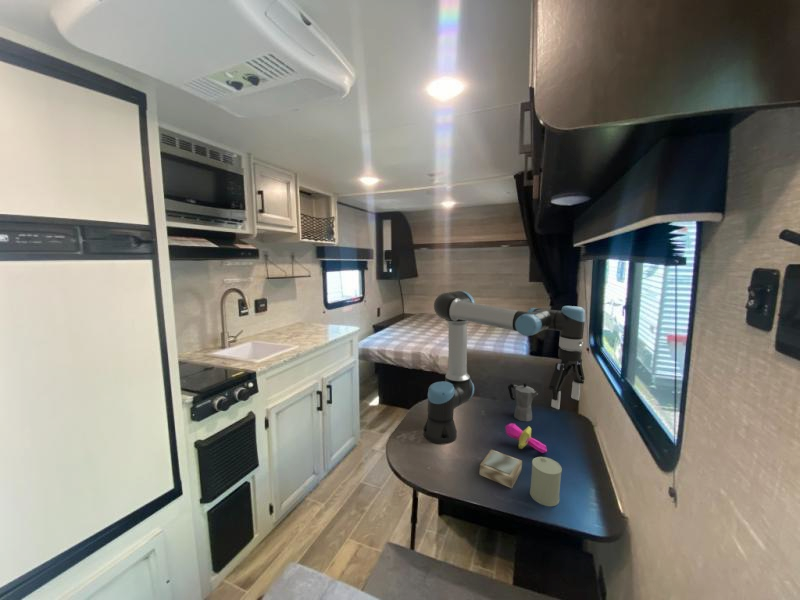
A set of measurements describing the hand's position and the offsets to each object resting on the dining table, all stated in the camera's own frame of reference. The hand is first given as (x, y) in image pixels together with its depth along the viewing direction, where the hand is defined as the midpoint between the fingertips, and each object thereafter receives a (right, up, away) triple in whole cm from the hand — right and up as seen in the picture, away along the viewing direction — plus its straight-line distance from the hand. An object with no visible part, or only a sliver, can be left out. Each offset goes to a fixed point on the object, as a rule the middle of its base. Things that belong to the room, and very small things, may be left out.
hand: (565, 403), depth 120 cm
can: (-13, -28, -11) cm, 33 cm away
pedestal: (-24, -26, +1) cm, 36 cm away
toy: (-9, -25, +17) cm, 31 cm away
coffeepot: (0, -21, +43) cm, 48 cm away
